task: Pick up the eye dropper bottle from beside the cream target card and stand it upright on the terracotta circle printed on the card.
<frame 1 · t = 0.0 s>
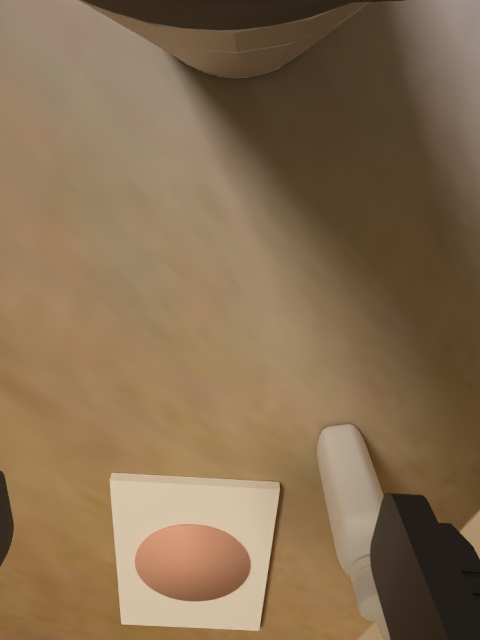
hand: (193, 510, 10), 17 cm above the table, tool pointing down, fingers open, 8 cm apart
target card: (193, 555, 36), on the table
eye dropper bottle: (340, 451, 32), on the table
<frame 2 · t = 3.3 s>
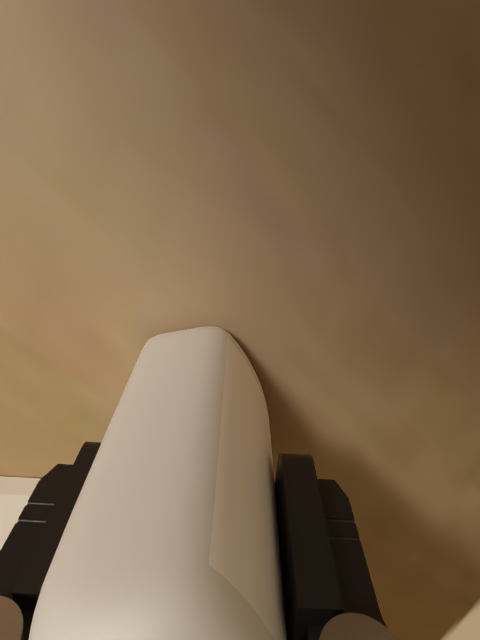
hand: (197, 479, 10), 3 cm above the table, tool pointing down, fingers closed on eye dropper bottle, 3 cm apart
eye dropper bottle: (208, 405, 13), on the table, touching gripper
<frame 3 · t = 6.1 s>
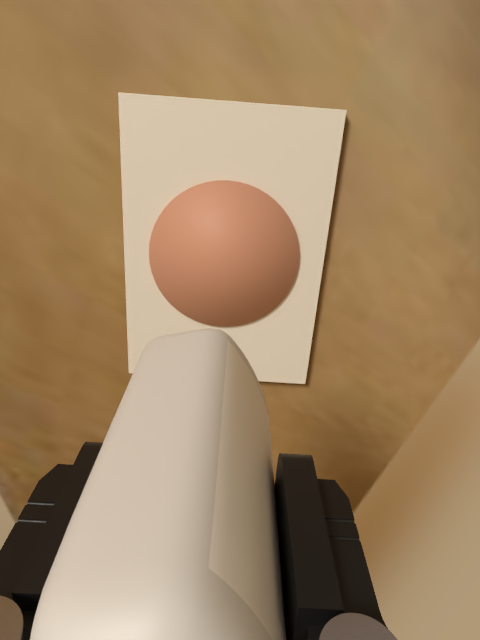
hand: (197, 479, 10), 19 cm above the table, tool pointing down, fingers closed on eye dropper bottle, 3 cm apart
target card: (224, 254, 28), on the table
eye dropper bottle: (208, 407, 13), point 16 cm above the table, touching gripper
when the fingers open (5 cm above the table, at t = 9.0 s): eye dropper bottle drops 1 cm, resting on target card.
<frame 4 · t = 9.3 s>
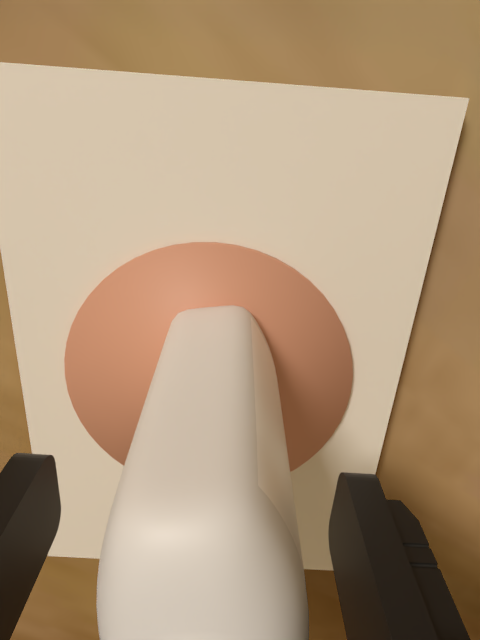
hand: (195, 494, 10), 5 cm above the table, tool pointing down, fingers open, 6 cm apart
target card: (210, 369, 15), on the table
eye dropper bottle: (222, 379, 14), point 1 cm above the table, touching target card
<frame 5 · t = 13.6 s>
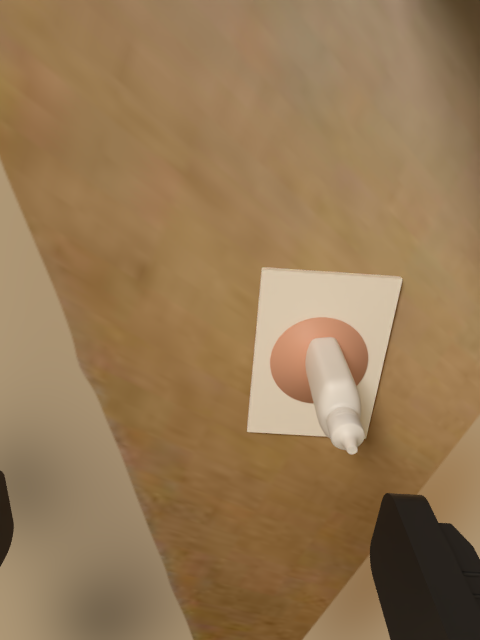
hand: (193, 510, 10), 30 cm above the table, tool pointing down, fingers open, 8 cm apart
target card: (317, 357, 42), on the table
eye dropper bottle: (323, 361, 42), point 1 cm above the table, touching target card
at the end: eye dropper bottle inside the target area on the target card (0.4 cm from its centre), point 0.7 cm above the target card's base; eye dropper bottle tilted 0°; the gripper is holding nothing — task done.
